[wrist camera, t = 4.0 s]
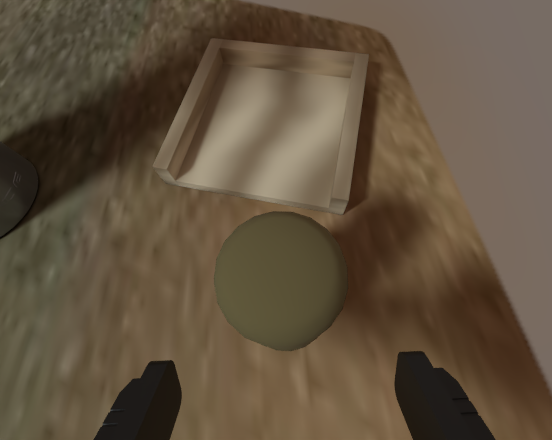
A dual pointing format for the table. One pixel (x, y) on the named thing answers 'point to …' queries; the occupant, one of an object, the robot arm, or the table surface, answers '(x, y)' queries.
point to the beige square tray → (269, 125)
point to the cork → (281, 280)
